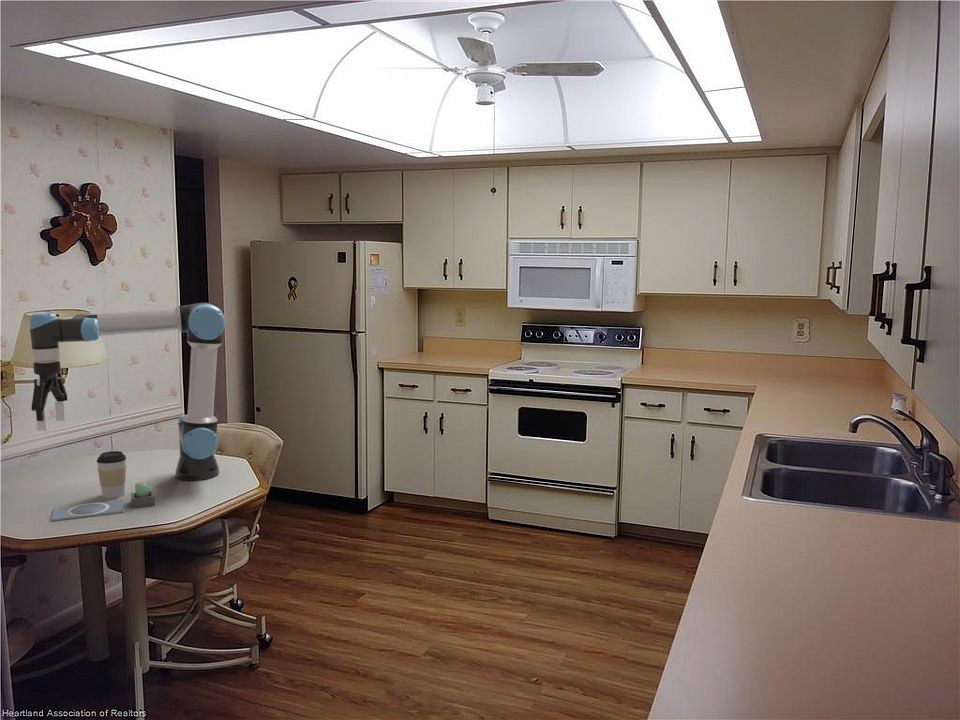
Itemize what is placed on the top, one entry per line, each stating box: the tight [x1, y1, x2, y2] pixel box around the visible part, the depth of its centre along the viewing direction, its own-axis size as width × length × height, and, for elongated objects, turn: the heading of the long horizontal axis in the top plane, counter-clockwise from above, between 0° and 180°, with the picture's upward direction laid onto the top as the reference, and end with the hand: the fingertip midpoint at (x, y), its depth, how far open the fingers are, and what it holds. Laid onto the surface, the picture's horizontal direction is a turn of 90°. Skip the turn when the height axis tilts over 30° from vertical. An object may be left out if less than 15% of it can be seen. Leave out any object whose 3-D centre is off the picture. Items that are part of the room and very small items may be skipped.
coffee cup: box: [96, 450, 127, 500], centre depth 254 cm, size 9×9×15 cm
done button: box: [134, 481, 151, 498], centre depth 247 cm, size 4×4×4 cm
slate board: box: [50, 499, 124, 522], centre depth 240 cm, size 20×12×1 cm, turn 115°
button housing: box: [130, 490, 156, 509], centre depth 247 cm, size 7×7×3 cm
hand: (52, 425), depth 245 cm, fingers open, 13 cm apart
